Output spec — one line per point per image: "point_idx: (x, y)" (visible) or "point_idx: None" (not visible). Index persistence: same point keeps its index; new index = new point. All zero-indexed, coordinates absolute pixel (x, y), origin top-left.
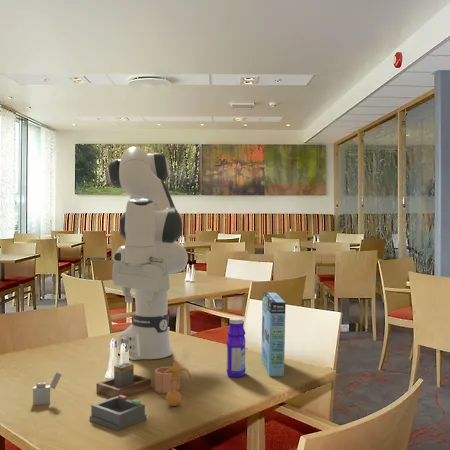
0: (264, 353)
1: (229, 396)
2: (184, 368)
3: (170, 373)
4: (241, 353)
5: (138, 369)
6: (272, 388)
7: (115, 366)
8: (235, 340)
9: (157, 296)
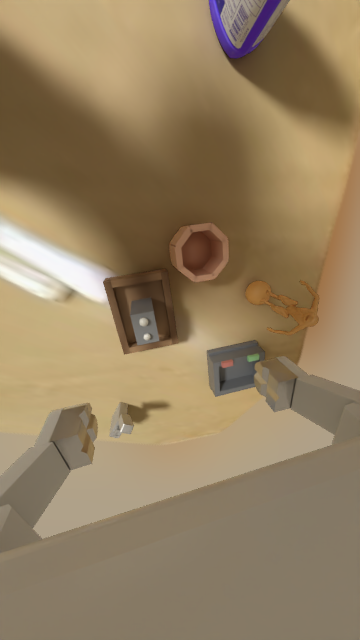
0: None
1: (298, 188)
2: (317, 304)
3: (223, 263)
4: None
5: (26, 207)
6: (350, 63)
7: (141, 344)
8: None
9: (353, 395)
